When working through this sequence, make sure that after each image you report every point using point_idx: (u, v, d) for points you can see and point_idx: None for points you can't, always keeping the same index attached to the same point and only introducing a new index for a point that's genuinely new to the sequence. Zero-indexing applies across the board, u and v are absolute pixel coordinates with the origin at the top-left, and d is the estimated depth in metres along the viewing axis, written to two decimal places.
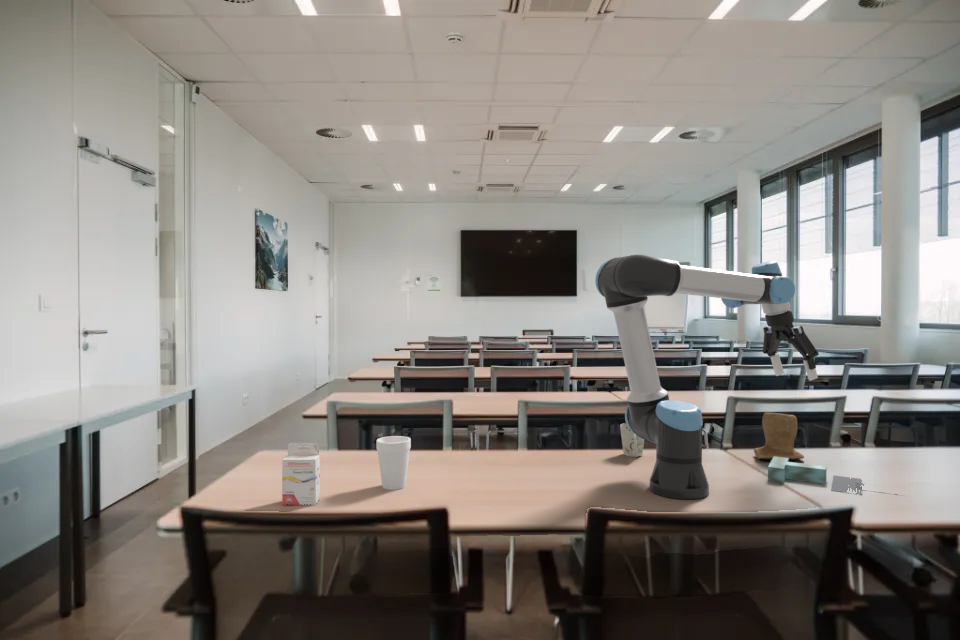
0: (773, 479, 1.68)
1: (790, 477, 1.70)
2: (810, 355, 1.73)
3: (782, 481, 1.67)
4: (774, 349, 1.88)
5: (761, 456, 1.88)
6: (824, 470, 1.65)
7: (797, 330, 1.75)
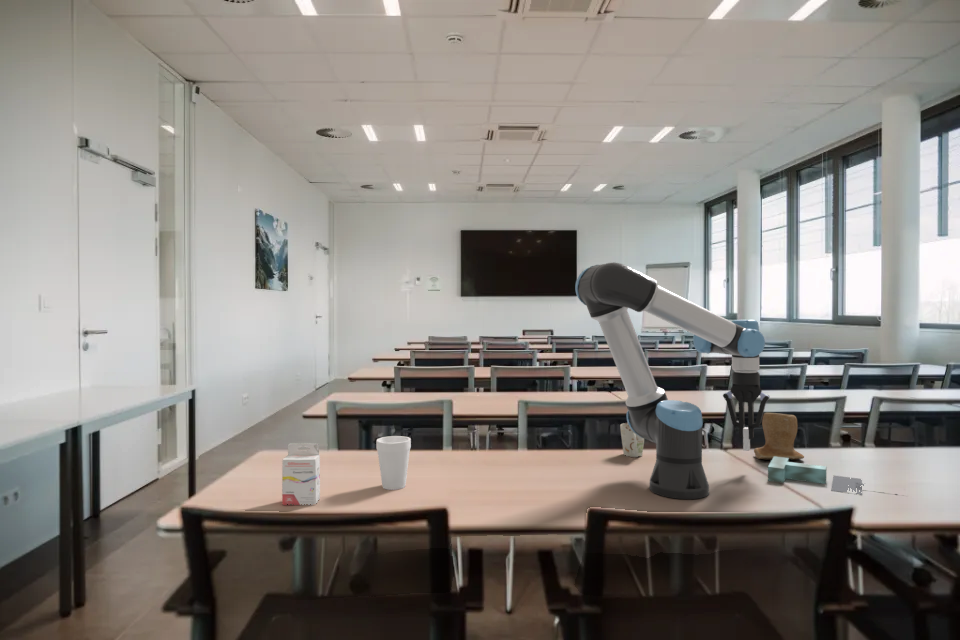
0: (773, 479, 1.68)
1: (790, 477, 1.70)
2: (758, 424, 1.75)
3: (782, 481, 1.67)
4: (743, 417, 1.78)
5: (761, 456, 1.88)
6: (824, 470, 1.65)
7: (767, 399, 1.74)
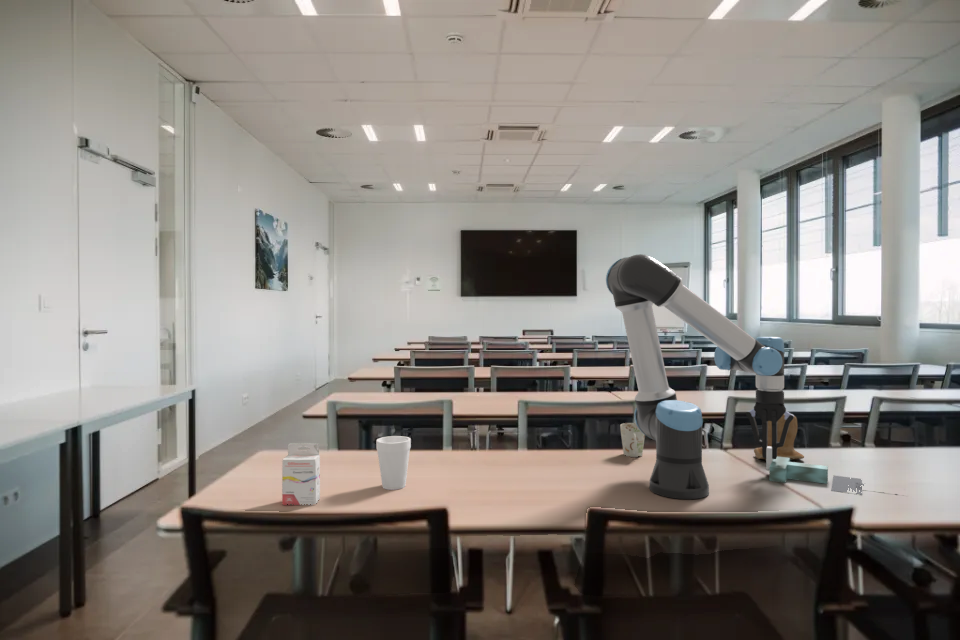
0: (775, 479, 1.68)
1: (791, 477, 1.70)
2: (782, 444, 1.72)
3: (784, 481, 1.66)
4: (767, 436, 1.75)
5: (761, 456, 1.88)
6: (825, 470, 1.65)
7: (792, 419, 1.71)
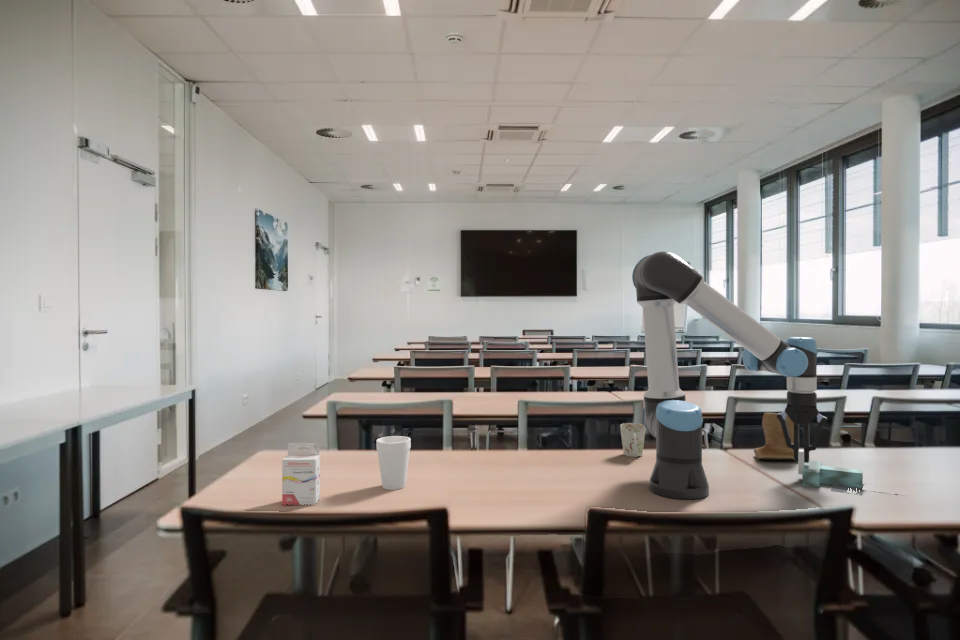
0: (808, 484, 1.63)
1: (825, 481, 1.65)
2: (814, 447, 1.67)
3: (817, 486, 1.62)
4: (798, 439, 1.70)
5: (761, 456, 1.88)
6: (861, 474, 1.61)
7: (825, 421, 1.66)
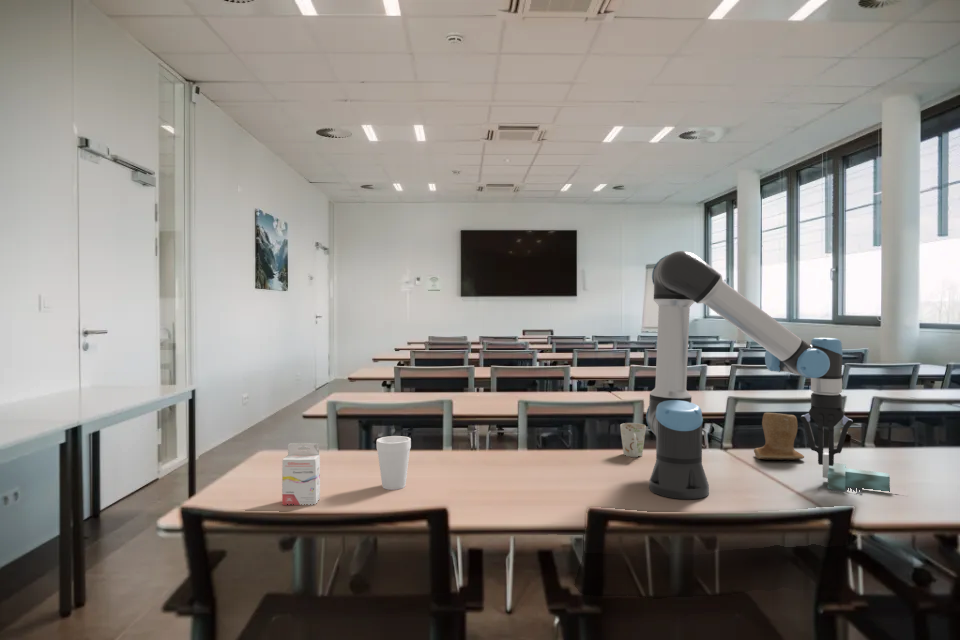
0: (833, 487, 1.60)
1: (850, 484, 1.62)
2: (839, 450, 1.64)
3: (843, 489, 1.59)
4: None
5: (761, 456, 1.88)
6: (888, 477, 1.57)
7: None
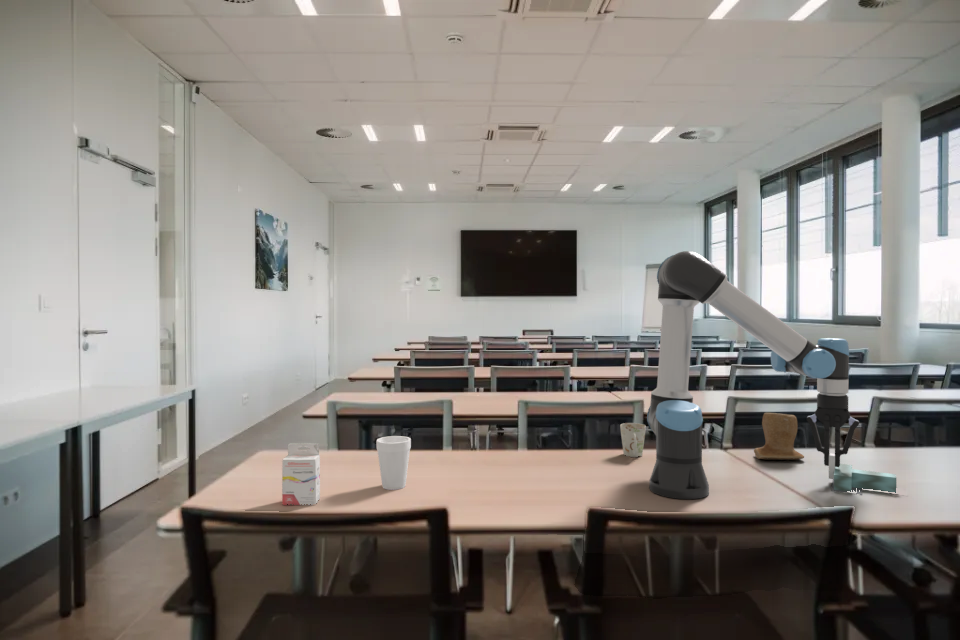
0: (840, 488, 1.59)
1: (857, 485, 1.61)
2: (846, 451, 1.63)
3: (850, 490, 1.58)
4: (829, 443, 1.66)
5: (761, 456, 1.88)
6: (894, 478, 1.57)
7: (857, 425, 1.62)
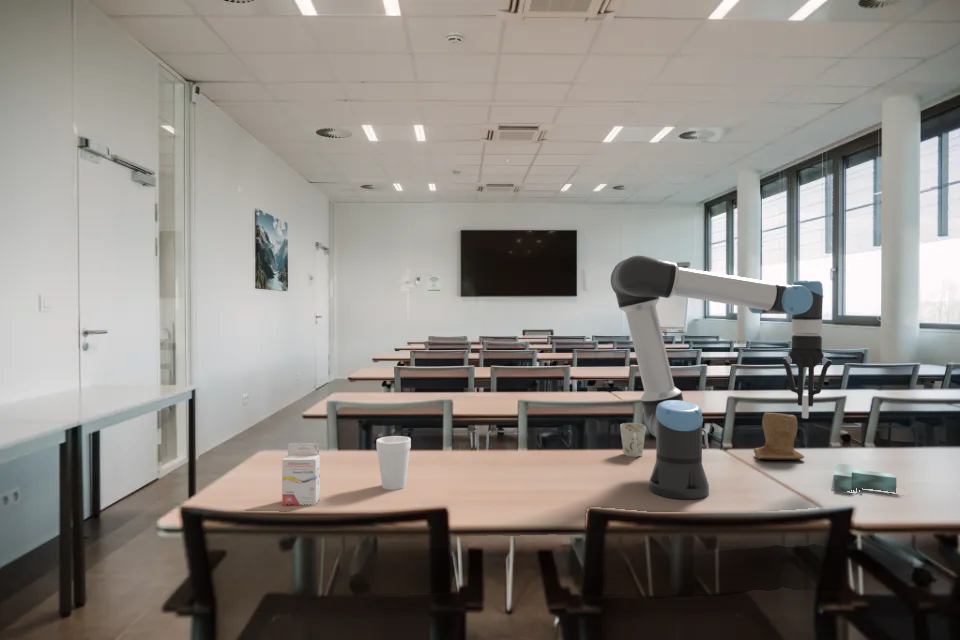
0: (840, 488, 1.59)
1: (857, 485, 1.61)
2: (819, 391, 1.66)
3: (850, 490, 1.58)
4: None
5: (761, 456, 1.88)
6: (894, 478, 1.57)
7: (830, 364, 1.65)
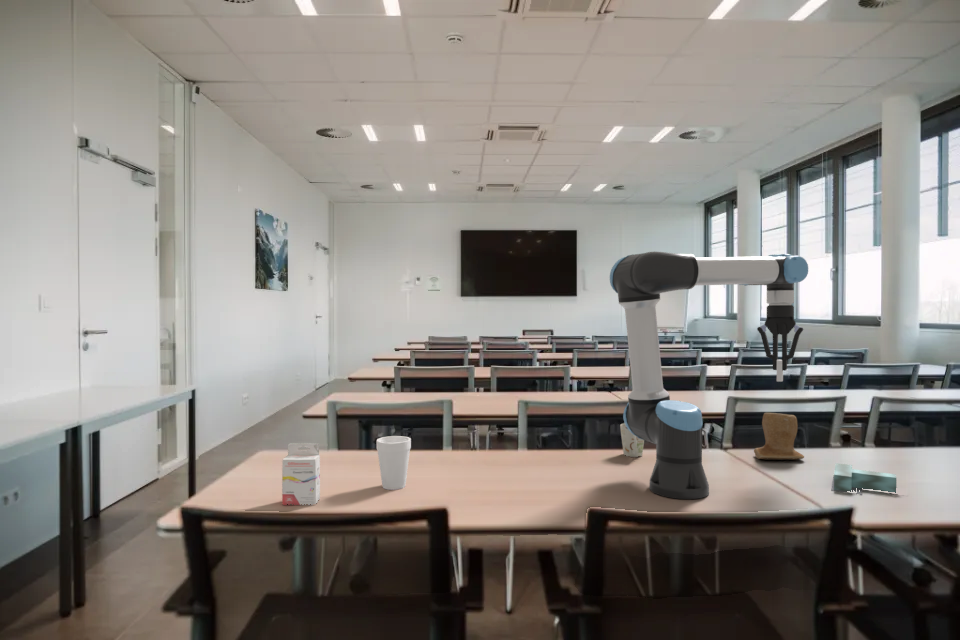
0: (840, 488, 1.59)
1: (857, 485, 1.61)
2: (791, 355, 1.81)
3: (850, 490, 1.58)
4: (777, 350, 1.83)
5: (761, 456, 1.88)
6: (894, 478, 1.57)
7: None
